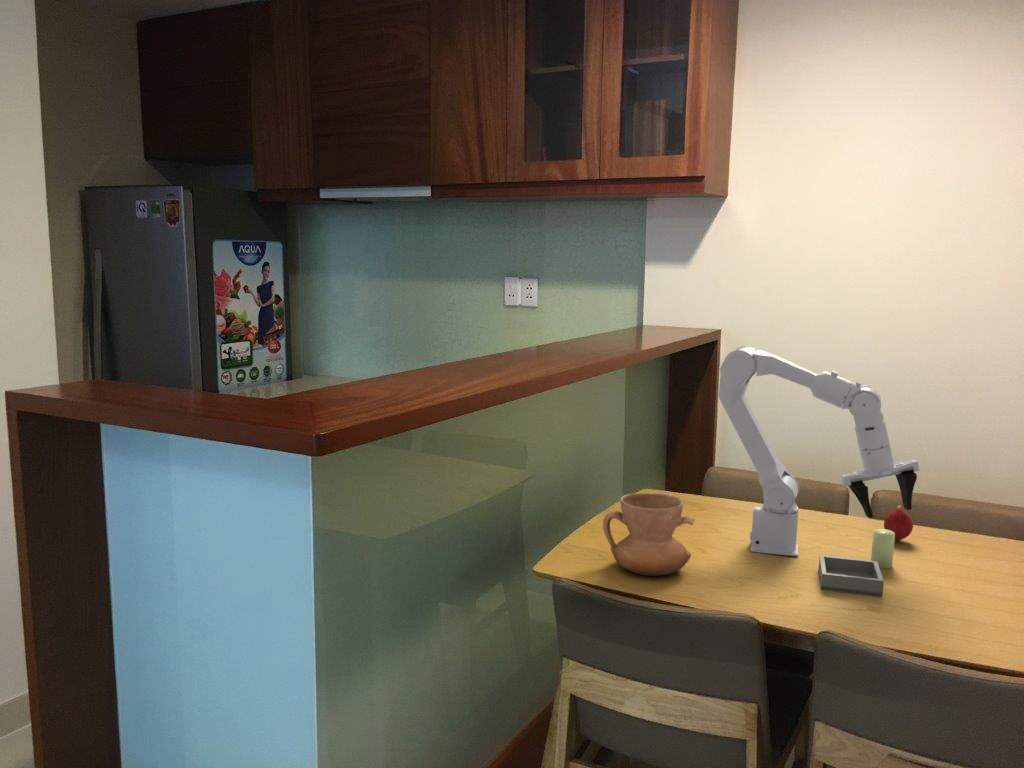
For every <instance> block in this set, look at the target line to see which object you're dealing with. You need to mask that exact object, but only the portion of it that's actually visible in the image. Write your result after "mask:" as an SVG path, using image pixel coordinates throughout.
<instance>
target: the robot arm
mask: <svg viewBox="0 0 1024 768" xmlns="http://www.w3.org/2000/svg"><path fill="white" fill-rule="evenodd" d="M719 373H720V374H719V375H720V377H719V386H718V387H719V388H718V398H719V400H720V403H721V404H722V406H723V408H724V410H725V412H726V415H727V416H728V418H729V420H730V422H731V424H732V426H733V427H734V429H735V431H736V434H737V435H738V437H739V439H740V440H741V441H740V442H742V445H743V447H744V449H745V450H746V453H747V454H748V456H749V458H750V460H751V462H752V464H753V466H754V468H755V470H756V471H757V477H758V482H759V484H760V486H761V489H762V493H763V494H762V499H763V503H762V505H761V506H753V507H752V521H751V522H752V523H751V524H752V525H751V531H750V532H749V533H750V534H749V541H751V544H750V552H752V553H761V554H770V555H780V556H789V557H798V556H799V546H798V545H799V544H798V542H797V539H798V526H799V525H798V524H799V523H798V522H799V521H798V520H799V507H798V505H797V503H796V502H795V501H796V498H797V497H798V495H799V493H800V484H799V482H798V480H797V478H795V476H793V475H792V474H791V473H789V471H788V470H787V467H785V465H784V464H783V463H782V462H781V461H780V460H779V458H778V456H777V455H776V452H775V451H774V449H773V447H772V444H771V443H770V441H769V439H768V437H767V435H766V434H765V433H766V432H764V430H763V428H762V426H761V424H760V422H759V420H758V418H757V416H756V415H755V413H754V410H753V409H752V407H751V405H750V402H749V401H748V399H747V397H746V395H745V393H746V391H747V388H748V386H749V383H750V380H751V379H752V377H753V376H754V375H755V374H756V375H755V376H756V377H760V376H761V377H763V376H768V375H772V376H773V375H774V376H777V377H779V378H781V379H782V378H783V379H785V380H788V381H790V382H792V383H795V384H798V385H800V386H803V387H805V388H809V389H810V391H811V394H812V396H813V397H814V398H816V399H819V400H821V401H823V402H824V403H828V404H829V405H830V404H831V405H832V406H835V407H836V408H840V409H842V410H848V411H849V413H850V414H851V415H852V416H853V419H854V424H855V427H854V431H855V434H856V439H857V444H858V448H859V454H860V459H861V462H862V464H861V465H862V466H863V467H862V469H858V470H855V471H851V472H848V473H844V474H841V480H842V484H843V485H844V486H846V487H848V488H849V489H850V491H851V492H852V493H853V495H855V497H856V498H857V500H858V501H859V503H860V505H861V507H862V509H863V511H864V515H865V516H866V517H867V518H868V519H871V518H874V515H873V510H872V507H871V504H870V502H871V501H870V497H869V487H868V486H867V485H865V482H868V481H873V480H876V479H877V480H878V479H882V478H887V477H890V476H891V477H892V476H895V477H896V481H897V483H898V486H899V489H900V495H901V501H902V502H901V503H902V505H903V508H904V509H905V510H907V511H910V510H912V500H913V492H914V488H915V486H916V481H917V480H918V479H917V478H918V475H917V473H916V472H919V471H920V466H919V462H918V461H917V460H915V459H911V460H906V461H900V462H899V461H897V462H894V457H893V453H892V448H891V444H890V439H889V434H888V430H887V426H886V422H885V421H884V414H883V412H882V410H881V408H882V400H881V396H880V393H879V392H878V391H877V390H876V389H874V388H873V387H872V386H870V385H862V382H860V381H856V383H855V382H853V381H851V380H849V379H846V378H844V377H841V376H839V372H838V371H835V370H832V371H831V372H828V371H827V370H826V371H821V372H819V373H815V372H813V371H811V370H809V369H806V368H805V367H801V366H799V365H797V364H796V363H793V362H791V361H788V360H787V359H784V358H782V357H780V356H778V355H776V354H773V353H770V352H768V351H765V350H761V349H755V348H754V347H753V346H749V345H745V346H744V345H743V346H740V347H737V348H736V349H735V350H733V351H730V352H729V353H727V355H726V356H725V358H724V359H723V362H722V363H721V366H720V368H719Z"/></svg>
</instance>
